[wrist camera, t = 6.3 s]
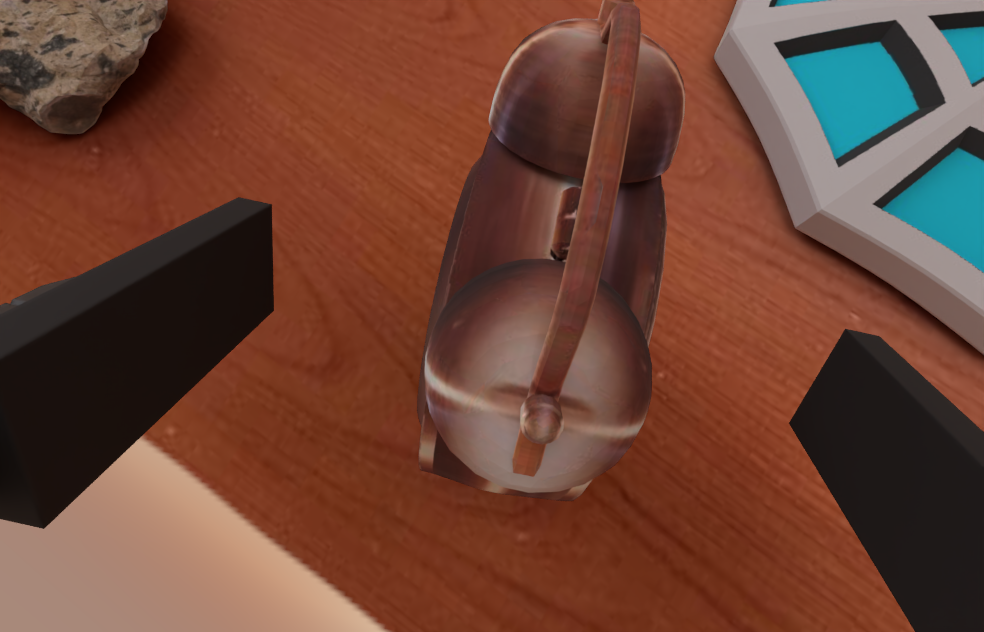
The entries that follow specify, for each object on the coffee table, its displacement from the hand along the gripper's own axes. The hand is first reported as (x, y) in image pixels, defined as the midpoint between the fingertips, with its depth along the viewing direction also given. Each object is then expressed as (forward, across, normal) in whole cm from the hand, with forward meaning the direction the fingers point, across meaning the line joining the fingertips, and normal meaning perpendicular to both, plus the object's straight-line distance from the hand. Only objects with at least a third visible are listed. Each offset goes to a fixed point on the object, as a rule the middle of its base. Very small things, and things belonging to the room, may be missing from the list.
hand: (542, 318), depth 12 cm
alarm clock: (+8, 0, -6) cm, 10 cm away
